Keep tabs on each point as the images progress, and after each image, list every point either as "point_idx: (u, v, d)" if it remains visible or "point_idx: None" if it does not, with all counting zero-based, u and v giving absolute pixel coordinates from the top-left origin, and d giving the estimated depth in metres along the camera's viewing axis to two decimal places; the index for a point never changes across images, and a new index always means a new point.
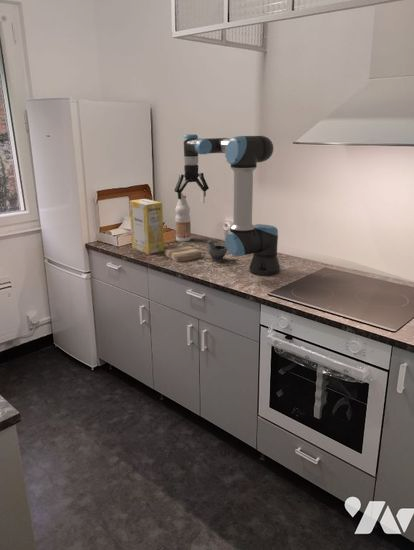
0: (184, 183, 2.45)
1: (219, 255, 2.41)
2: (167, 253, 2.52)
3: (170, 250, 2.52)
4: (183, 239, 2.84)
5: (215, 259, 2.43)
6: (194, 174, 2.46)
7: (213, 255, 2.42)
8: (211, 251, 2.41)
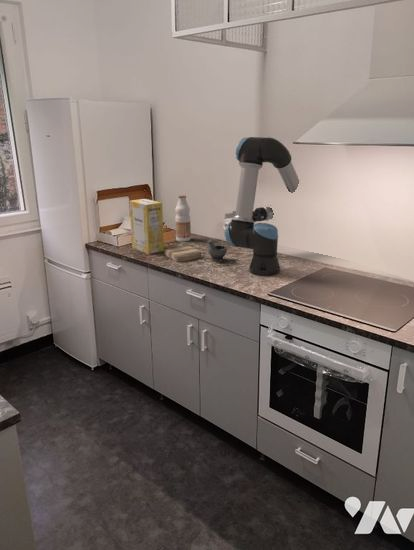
0: None
1: (219, 255, 2.41)
2: (167, 253, 2.52)
3: (170, 250, 2.52)
4: (183, 239, 2.84)
5: (215, 259, 2.43)
6: (257, 213, 2.50)
7: (213, 255, 2.42)
8: (211, 251, 2.41)
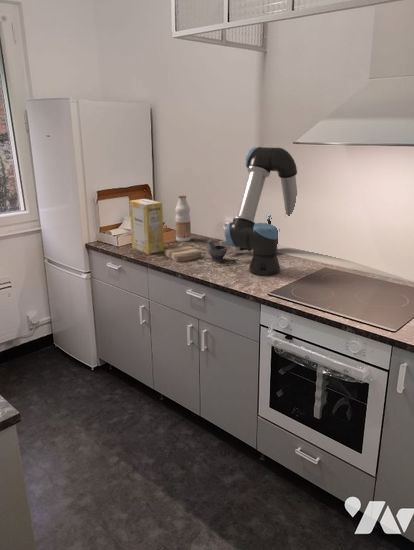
0: None
1: (219, 255, 2.41)
2: (167, 253, 2.52)
3: (170, 250, 2.52)
4: (183, 239, 2.84)
5: (215, 259, 2.43)
6: None
7: (213, 255, 2.42)
8: (211, 251, 2.41)
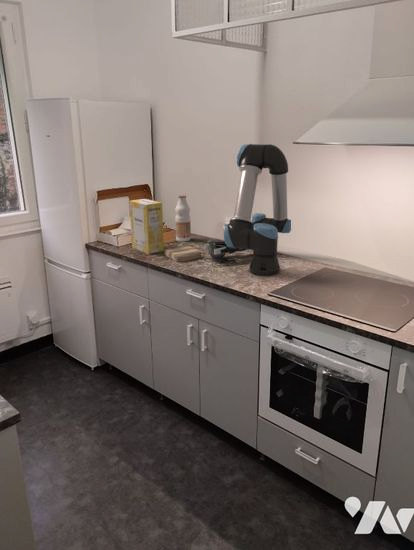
0: (224, 243, 2.51)
1: (219, 255, 2.41)
2: (167, 253, 2.52)
3: (170, 250, 2.52)
4: (183, 239, 2.84)
5: (215, 259, 2.43)
6: None
7: (213, 255, 2.42)
8: (211, 251, 2.41)
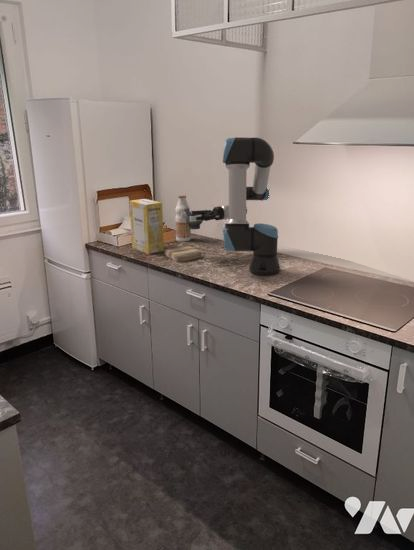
0: (201, 212, 2.52)
1: (195, 223, 2.43)
2: (167, 253, 2.52)
3: (170, 250, 2.52)
4: (183, 239, 2.84)
5: (191, 227, 2.45)
6: (215, 212, 2.50)
7: (189, 223, 2.44)
8: (187, 219, 2.43)
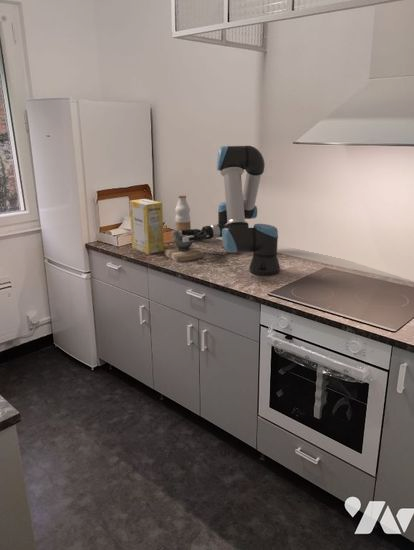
0: (191, 231, 2.57)
1: (185, 245, 2.47)
2: (167, 253, 2.52)
3: (170, 250, 2.52)
4: None
5: (181, 249, 2.50)
6: (203, 231, 2.54)
7: (179, 245, 2.48)
8: (177, 241, 2.47)
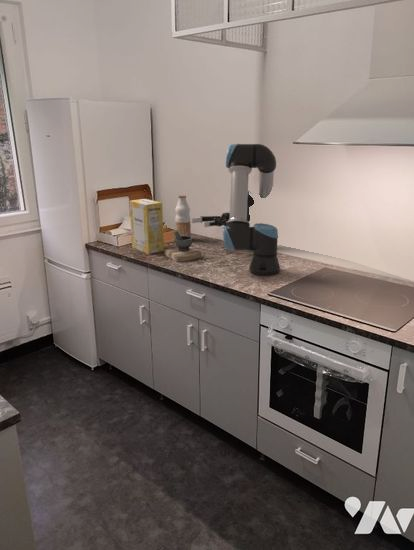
0: None
1: (185, 245, 2.47)
2: (167, 253, 2.52)
3: (170, 250, 2.52)
4: None
5: (181, 249, 2.50)
6: (223, 218, 2.59)
7: (179, 245, 2.48)
8: (177, 241, 2.47)
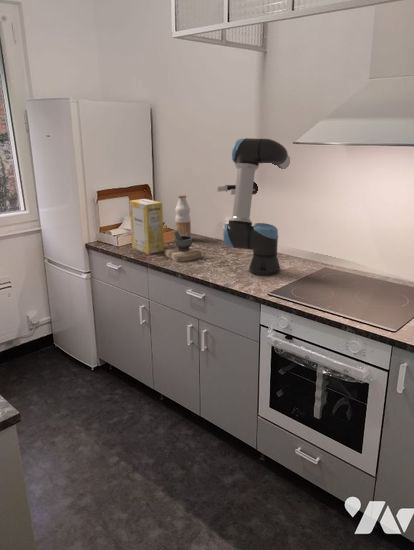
0: (236, 186, 2.59)
1: (185, 245, 2.47)
2: (167, 253, 2.52)
3: (170, 250, 2.52)
4: None
5: (181, 249, 2.50)
6: None
7: (179, 245, 2.48)
8: (177, 241, 2.47)
